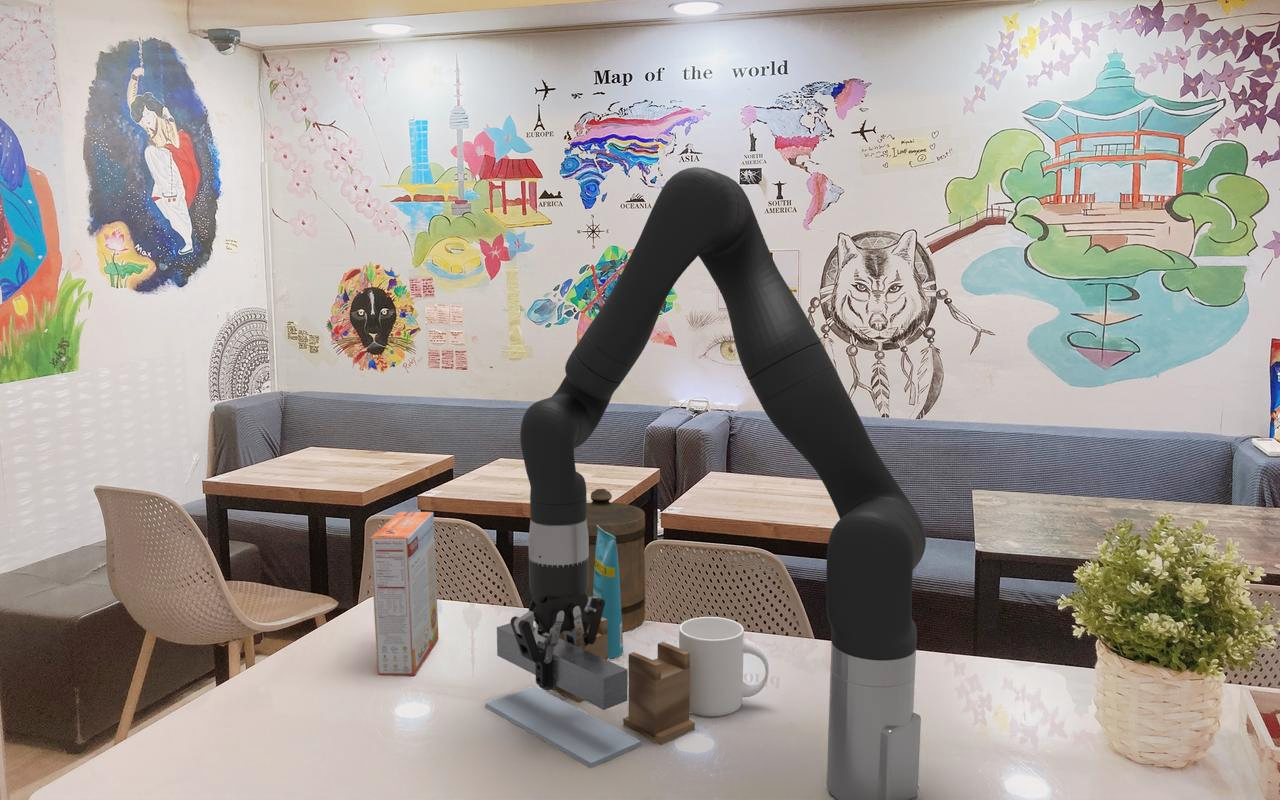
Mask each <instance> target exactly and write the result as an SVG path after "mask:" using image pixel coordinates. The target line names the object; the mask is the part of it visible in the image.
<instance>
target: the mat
mask: <svg viewBox="0 0 1280 800" xmlns="http://www.w3.org/2000/svg"><path fill="white" fill-rule="evenodd" d="M485 708H487V709H489V710H490V711H492V712H494V713H496V714H497V715H499V716H501V717H503V718H504V719H506V720H508V721H509V722H511V723H512V724H514V725H516V726H518V727H520V728H521V729H523V730H524V731H527V733H530V734H531V735H533V736H535V737H537V738H538V739H541V740H542V741H544V742H545V743H548V744H549V745H550V746H553V747H554V748H556V749H558V750H559V751H562V752H563V753H564V754H567V755H568V756H570V757H572V758H574V760H577V761H578V762H581V763H582V764H583V765H586V766H587V767H589V768H594V767H597V766H598V765H601V764H603V763H605V762H607V761H610V760H612V759H614V758H617V757H619V756H621V755H623V754H626V753H628V752H631V751H633V750H635V749H637V748H640V747H641V746H642V741H640V739H637V738H635V737H633V736H632V735H629V734H627V733H626V732H624V731H622V730H620V729H619V728H616V727H614V726H613V725H610V724H608V723H607V722H604V721H603V720H601V719H599V718H597V717H595V716H593V715H591V714H589V713H587V712H585V711H583V710H581V709H579V708H578V707H576V706H574V705H572V704H570V703H568V702H565V700H562V699H560V698H558V697H556V696H554V695H552V694H551V693H549V692H548V691H546V690H544V689H542V688H540V687H537V686H535V685H532V686H529V687H526V688H524V689H521V690H518V691H516V692H515V691H514V692H512V693H510V694H507V695H504V696H501V697H498V698H495V699H492V700H490V701H486V702H485Z"/></svg>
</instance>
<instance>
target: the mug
mask: <svg viewBox="0 0 1280 800" xmlns="http://www.w3.org/2000/svg"><path fill="white" fill-rule="evenodd" d="M678 627H679V628H678V629H679V632H678V633H679V634H678V635H679V636H678V648H680V649H682V650H685V651H687V652H689V653H690V707H689V713H692V714H694V715H697V716H702V717H723V716H727V715H730V714H732V713H734V712H736V711H737V710H739V709H740V707H741V706H742V704H743V698H750V697H754V696H755V695H757V694H759V693H760V692H761V691H762V690H763V689H764V688H765V687H766V684H767V682H768V678H769V673H770V672H769V670H770V669H769V667H770V666H769V662H768V661H769V660H768V658H767V656H766V654H765V652H764V651H763V650H762V649H761V648H760V647H759V646H758V645H757V644H755V643H754V642H752V641H751V640H749V639H747V638H746V637H744V636H745V635H744V633H745V631H744V630H745V629H744V627H743V625H742V624H741V623H740V622H738V621H735V620H733V619H729V618H725V617H717V616H702V617H700V616H699V617H694V618H690V619H687V620H685V621H683V622H682V623H681V624H680V625H679V626H678ZM744 654H749V655H753V656H755V657H757V658H759V660H761V662H762V664H763V666H764V668H765V672H764V673H765V674H764V677H763V679H762V680H761V681H760V682H759V683H757V684H753V685H752V684H748V683H746V682H744Z"/></svg>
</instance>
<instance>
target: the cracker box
mask: <svg viewBox="0 0 1280 800" xmlns="http://www.w3.org/2000/svg"><path fill="white" fill-rule="evenodd" d="M434 519H435V518H434V512H433V511H399V512H397V513H396V514H395V515H393V517H392V518H391V519H389V521H387V522H386V523H385V524H383V526H382V527H380V528H379V529H378V530H377V531H376V532H375V533H374V534H372V535H371V536H370V538H369V539H370V553H371V556H370V559H371V573H372V575H371V577H372V592H373V593H372V594H373V595H372V596H373V614H374V633H375V648H376V649H375V650H376V668H377V669H376V670H377V675H378V676H379V675H381V676H416V674H417V673H418V671H419V669H420V668H421V666H422V665H423V663H424V662H425V660H426V659H427V657H428V655H430V653H431V652H432V649H433V648H434V647H435V644H436V643H437V642H438V641H439V621H438V620H439V619H438V617H439V616H438V615H439V614H438V595H437V594H438V593H437V591H438V590H437V569H436V566H437V565H436V546H435V545H436V541H435V523H434V522H435V520H434Z"/></svg>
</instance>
